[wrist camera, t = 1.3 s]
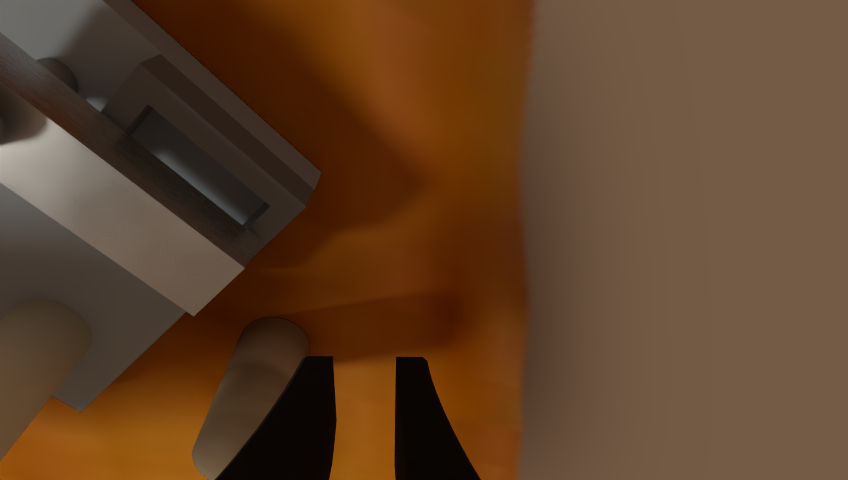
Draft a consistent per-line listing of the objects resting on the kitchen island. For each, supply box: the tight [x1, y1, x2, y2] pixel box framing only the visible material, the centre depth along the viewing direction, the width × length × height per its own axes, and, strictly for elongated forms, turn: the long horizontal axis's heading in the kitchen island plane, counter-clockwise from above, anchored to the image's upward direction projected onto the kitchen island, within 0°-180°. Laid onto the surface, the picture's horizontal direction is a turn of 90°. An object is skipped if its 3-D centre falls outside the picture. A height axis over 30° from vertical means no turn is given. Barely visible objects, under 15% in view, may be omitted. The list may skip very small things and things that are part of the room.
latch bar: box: [0, 32, 259, 316], centre depth 15 cm, size 9×2×2 cm, turn 43°
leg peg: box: [192, 317, 309, 480], centre depth 21 cm, size 3×3×6 cm
